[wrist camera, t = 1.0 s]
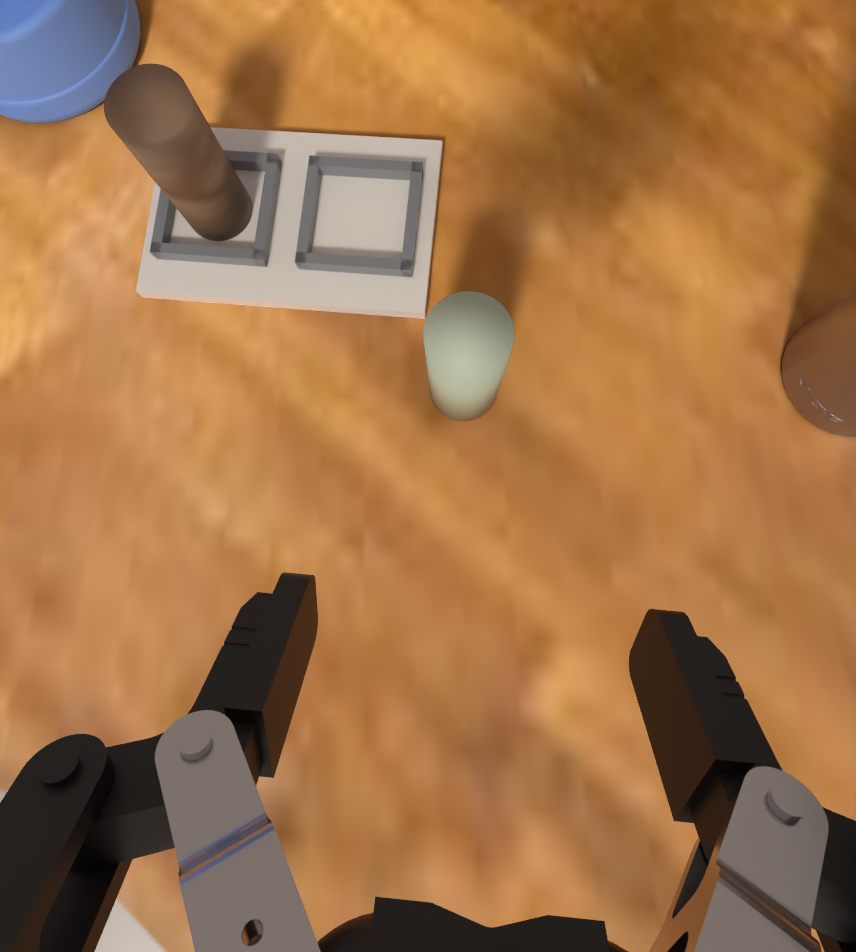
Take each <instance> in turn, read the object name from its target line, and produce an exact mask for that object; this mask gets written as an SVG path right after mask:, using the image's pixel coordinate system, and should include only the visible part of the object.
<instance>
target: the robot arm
mask: <svg viewBox="0 0 856 952" xmlns="http://www.w3.org/2000/svg"><path fill="white" fill-rule="evenodd" d="M782 378H783V384H784V387H785V390H786V392H787V395H788V397H789V399H790V401H791V402H792V404H793V405H794V407H795V408H796V410H797V411H798V412H799V413H800V414H801V415H802V416H803V417H804V418H805V419H806V420H808V421H809V422H811V423H812V424H814V425H815V426H817V427H818V428H820V429H823V430H825V431H827V432H830V433H832V434H837V435H842V436H856V293H855V294H853V295H851V296H849V297H848V298H846V299H844V300H843V301H841V302H840V303H838V304H836V305H835V306H833V307H832V308H830V309H828V310H827V311H825V312H824V313H822V314H820V315H819V316H817V317H816V318H814V319H812V320H811V321H809V322H808V323H806V324H805V325H803V326H802V327H801V328H800V329H799V330H798V331H797V332H796V333H795V334H794V335H793V336H792V338H791V339H790V341H789V343H788V345H787V346H786V349H785V352H784V356H783V359H782ZM317 626H318V613H317V598H316V583H315V577H314V575H305V574H295V573H282V574H281V576H280V578H279V580H278V582H277V585H276V587H275V589H274V591H273V594H270V593H260V592H257V593H256V594H255V595H254V596H253V597H252V598H251V599H250V600H249V601H248V602H247V603H246V604H245V605H243V606H242V607H241V609H240V611H239V613H238V615H237V617H236V619H235V621H234V623H233V625H232V629H231V630H230V631H229V633H228V636H227V638H226V640H225V642H224V646H222V648H221V650H220V652H219V654H218V656H217V658H216V660H215V662H214V664H213V666H212V669H211V671H210V673H209V675H208V677H207V679H206V681H205V683H204V685H203V687H202V689H201V691H200V693H199V695H198V697H197V699H196V702H195V703H194V705H193V707H192V709H191V710H190V711H189V713H188V714H187V715H185V716H184V717H182V718H180V719H178V720H177V721H176V722H174V723H173V724H172V725H171V726H170V727H169V728H168V729H167V730H166V731H165V732H164V733H162V734H160V735H157V736H155V737H152V738H148V739H144V740H139V741H135V742H130V743H125V744H120V745H116V746H111V747H105V745H104V743H103V742H102V741H101V740H100V739H98V738H97V737H95V736H92V735H88V734H75V735H70V736H66V737H63V738H61V739H58V740H56V741H54V742H52V743H50V744H49V745H47V746H45V747H44V748H43V749H41V750H40V751H39V752H37V753H36V754H35V755H34V756H33V757H32V758H31V759H30V760H29V761H28V762H27V763H26V765H25V766H24V767H23V769H22V770H21V772H20V773H19V775H18V776H17V778H16V779H15V781H14V782H13V784H12V786H11V787H10V789H9V790H8V792H7V793H6V795H5V797H4V798H3V800H2V801H1V803H0V952H94V951H95V949H96V946H97V944H98V941H99V939H100V937H101V934H102V932H103V929H104V927H105V924H106V922H107V919H108V917H109V914H110V912H111V910H112V907H113V905H114V903H115V900H116V898H117V895H118V893H119V890H120V888H121V886H122V883H123V881H124V878H125V876H126V873H127V871H128V869H129V866H130V864H131V861H132V859H134V858H138V857H142V856H146V855H149V854H153V853H157V852H161V851H164V850H168V849H172V848H175V850H176V854H177V859H178V864H179V881H180V886H181V891H182V896H183V900H184V905H185V909H186V913H187V918H188V922H189V927H190V931H191V935H192V940H193V944H194V949H195V952H628V951H626V950H624V949H623V948H621V947H619V946H618V945H616V944H614V943H612V942H610V941H608V940H607V934H606V928H605V922H604V921H597V920H588V919H579V918H569V917H560V916H550V915H547V916H542V917H538V918H534V919H530V920H525V921H521V922H517V923H512V924H508V925H504V926H500V927H494V928H490V927H485V926H483V925H480V924H478V923H476V922H474V921H471V920H469V919H467V918H465V917H462V916H460V915H458V914H456V913H453V912H451V911H449V910H447V909H444V908H442V907H440V906H438V905H435V904H433V903H429V902H419V901H410V900H400V899H391V898H382V897H375V905H374V913H370V914H366V915H362V916H359V917H357V918H354V919H352V920H349V921H347V922H345V923H343V924H342V925H340V926H338V927H336V928H335V929H333V930H332V931H330V932H329V933H328V934H327V935H325V936H324V937H323V938H321V939H320V940H319V941H318V942H317V941H316V938H315V935H314V933H313V930H312V927H311V924H310V922H309V919H308V916H307V914H306V911H305V908H304V906H303V903H302V900H301V898H300V895H299V892H298V890H297V887H296V884H295V882H294V879H293V876H292V874H291V871H290V868H289V866H288V863H287V860H286V858H285V855H284V852H283V850H282V847H281V844H280V842H279V839H278V837H277V834H276V831H275V829H274V827H273V824H272V822H271V820H270V819H268V817H267V815H266V812H265V810H264V807H263V804H262V802H261V799H260V796H259V794H258V791H257V788H256V784H257V781H258V778H259V776H262V777H272V778H274V775H275V772H276V768H277V765H278V762H279V758H280V755H281V752H282V749H283V745H284V742H285V739H286V735H287V732H288V729H289V726H290V722H291V719H292V716H293V713H294V709H295V706H296V703H297V699H298V696H299V693H300V690H301V686H302V683H303V680H304V676H305V673H306V670H307V667H308V663H309V660H310V657H311V653H312V650H313V647H314V643H315V639H316V634H317ZM629 671H630V676H631V680H632V683H633V687H634V690H635V693H636V697H637V700H638V703H639V706H640V710H641V713H642V716H643V720H644V723H645V726H646V730H647V733H648V736H649V740H650V743H651V746H652V749H653V753H654V756H655V759H656V763H657V766H658V769H659V773H660V776H661V779H662V783H663V786H664V789H665V792H666V796H667V799H668V802H669V806H670V809H671V812H672V816H673V819H674V821H680V822H689V823H694V824H695V827H696V830H697V833H698V836H699V838H698V839H697V840H696V842H695V844H694V847H693V849H692V852H691V854H690V857H689V860H688V862H687V865H686V867H685V870H684V873H683V875H682V878H681V881H680V883H679V886H678V888H677V891H676V894H675V896H674V899H673V901H672V904H671V907H670V909H669V912H668V915H667V917H666V920H665V922H664V924H663V927H662V929H661V931H660V933H659V934H658V936H657V938H656V940H655V941H654V943H653V945H652V947H651V949H650V951H649V952H821V947H820V944H819V942H818V941H817V940H816V939H815V938H814V937H812V936H811V928H813V929H815V930H816V931H817V934H818V936H819V939H820V941H821V944H822V946H823V949H824V951H825V952H856V821H854V820H852V819H849V818H847V817H844V816H842V815H839V814H837V813H835V812H832V811H830V810H828V809H826V808H824V807H822V806H821V804H820V803H819V801H818V800H817V798H816V797H815V796H814V795H813V793H812V792H811V791H810V790H809V789H808V788H807V787H806V786H805V785H803V784H802V783H801V782H800V781H799V780H797V779H796V778H794V777H793V776H791V775H789V774H788V773H786V772H784V771H783V770H782V769H781V767H780V765H779V763H778V761H777V759H776V757H775V755H774V753H773V751H772V749H771V747H770V745H769V743H768V741H767V739H766V737H765V735H764V733H763V731H762V729H761V727H760V725H759V723H758V721H757V719H756V717H755V715H754V713H753V711H752V709H751V707H750V705H749V703H748V701H747V700H746V699H744V693H743V691H742V689H741V687H740V685H739V683H738V682H736V677H735V675H734V673H733V671H732V669H731V667H730V665H729V663H728V661H727V659H726V657H725V656H724V655H723V654H722V652H721V651H720V650H719V649H718V648H717V647H716V646H715V645H714V644H713V643H712V642H711V641H710V640H709V639H708V638H707V637H700V636H697V635H696V633H695V631H694V628H693V626H692V624H691V622H690V620H689V618H688V616H687V615H686V614H685V613H684V612H677V611H666V610H656V609H650V610H648V612H647V613H646V615H645V618H644V620H643V622H642V625H641V627H640V629H639V632H638V634H637V636H636V639H635V641H634V644H633V646H632V648H631V651H630V656H629Z"/></svg>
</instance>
